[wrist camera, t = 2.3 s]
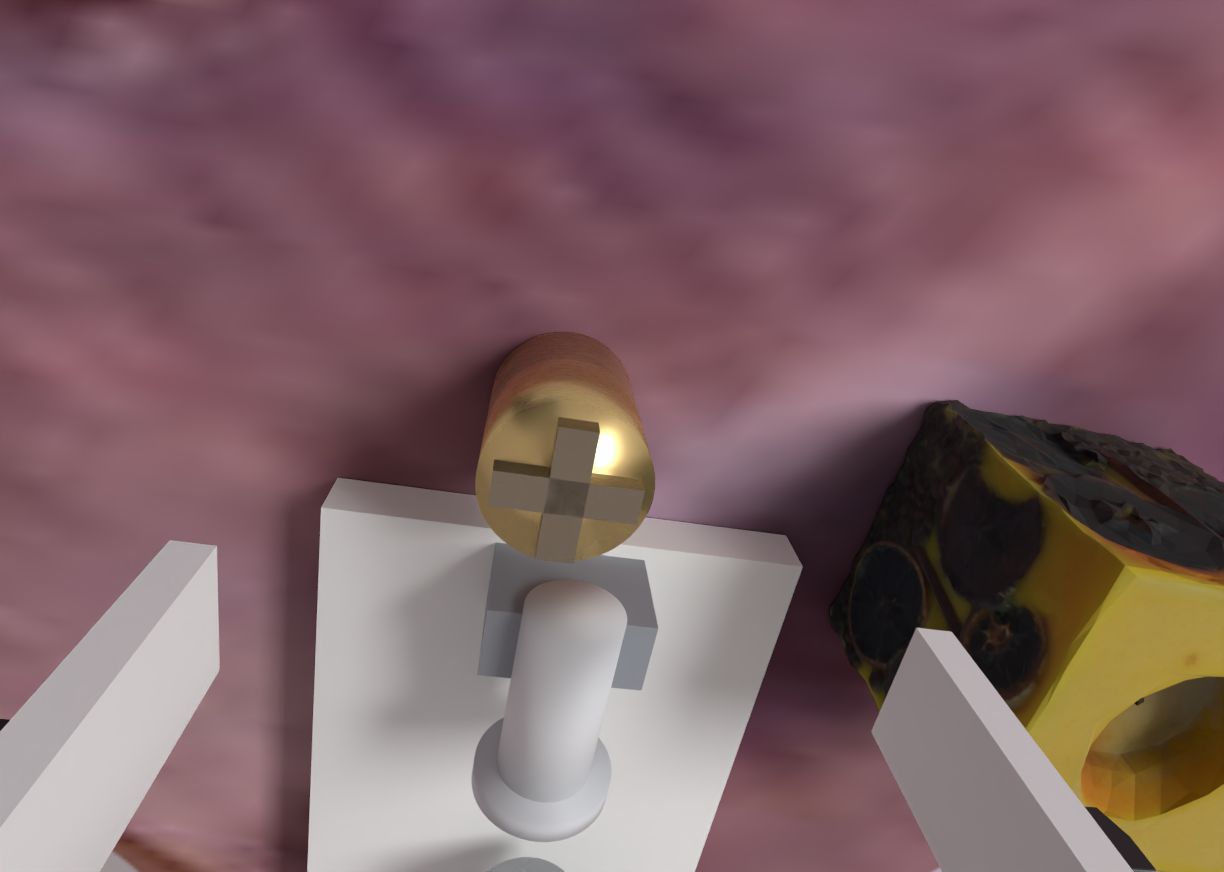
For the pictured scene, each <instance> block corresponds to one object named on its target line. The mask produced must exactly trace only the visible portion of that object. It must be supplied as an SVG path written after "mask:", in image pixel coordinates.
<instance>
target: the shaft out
mask: <svg viewBox="0 0 1224 872" xmlns="http://www.w3.org/2000/svg"><path fill="white" fill-rule="evenodd" d="M486 872H564V871H563V870H562V869H561V868H559V867H558V866H557V865H555V864H553V863H551V862H549V861H546V860H544V859H539V858H533V857H520V858H514V859H510V860H507V861H504V862H502V863H499V864H497V865H496V866H494V867H492V868H491V869H489V870H488V871H486Z"/></svg>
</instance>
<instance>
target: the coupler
mask: <svg viewBox="0 0 1224 872" xmlns="http://www.w3.org/2000/svg"><path fill="white" fill-rule="evenodd" d="M475 489H476V497H477V501H478V505H479V508H480V510H481V513H482V515H483V517H484V519H485V520H486V522H487V524H488V525H489V526H490V528H491V529H492V530H493V531H494V533H495V534H496V535H497V536H498V537H499V538H500V539H502V540H503V541H504V542H505V543H507V544H508V545H509V546H511V547H512V548H514V549H516V550H518V551H519V552H522V553H524V554H526V555H529V556H531V557H535V559H536V560H544V561H553V562H561V563H570V564H574V561H580V560H586V559H589V558H593V557H597V556H599V555H602V554H604V553H607V552H608V551H610V550H612V549H614V548H616V547H617V546H619V545H620V544H622V543H623V542H624V541H626V540H627V539H628V538H629V537H630V536H631V535H632V534H633V533H634V532H635V531H636V530H637V529H638V528H639V526H640V525H641V523H642V522H643V520H644V519H645V517H646V515H647V513H648V511H649V509H650V507H651V504H652V500H653V496H654V491H655V473H654V467H653V463H652V460H651V456H650V452H649V449H648V445H647V441H646V438H645V434H644V431H643V427H642V423H641V420H640V416H639V413H638V409H637V405H636V402H635V398H634V395H633V391H632V387H631V384H630V380H629V377H628V374H627V372H626V370H625V368H624V366H623V364H622V363H621V361H620V360H619V359H618V357H617V356H616V355H615V354H614V353H613V352H612V351H611V350H610V349H609V348H608V347H606V346H605V345H603V344H602V343H601V342H599V341H597V340H595V339H593V338H591V337H588V336H585V335H582V334H578V333H572V332H553V333H546V334H543V335H539V336H536V337H534V338H531V339H529V340H527V341H526V342H524V343H522V344H520V345H519V346H518V347H517V348H515V349H514V350H513V351H512V352H511V353H510V354H509V355H508V356H507V357H506V359H505V360H504V361H503V363H502V364H501V366H500V368H499V370H498V372H497V374H496V377H495V380H494V384H493V389H492V394H491V399H490V404H489V410H488V415H487V420H486V425H485V430H484V435H483V440H482V445H481V451H480V456H479V461H478V466H477V471H476V480H475Z"/></svg>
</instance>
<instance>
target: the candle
mask: <svg viewBox="0 0 1224 872" xmlns="http://www.w3.org/2000/svg"><path fill="white" fill-rule="evenodd" d="M830 621H831V626H832V628H833V629H834V630H835V632H836V633H837V634H838V635H839V637H840V639H841V641H842V643H843V645H844V646H845V653H846V655H847V657H848V659H849V662H850V664H851V665H852V666H853V667H854V668H855V669H856V670H857V671H858V672H859V673H860V675H861V676H862V677H863V678H864V679H865V680H866V682H867V684H868V687H869V689H870V691H871V693H872V695H873V697H874V699H875V702H876V704H877V707H878V710H879V712H880V710H881V708H882V706H883V703H884V701H885V699H886V696H887V694H888V692H889V690H890V687H891V685H892V683H893V680H894V678H895V676H896V673H897V671H898V669H899V666H900V664H901V662H902V660H903V657H904V655H905V653H906V650H907V648H908V646H909V643H910V641H911V639H912V637H913V634H914V632H915V630H916V628H924V629H933V630H941V631H950V632H952V633H953V634H954V635H955V637H956V638H957V639H958V641H959V642H960V643H961V645H962V646H963V647H964V649H965V650H966V651H967V652H968V654H969V655H970V656H971V658H972V659H973V660H974V662H975V663H976V664H977V666H978V667H979V668H980V670H981V671H982V672H983V674H984V675H985V676H986V678H987V679H988V680H989V682H990V683H991V684H992V685H993V687H994V688H995V689H996V691H997V692H998V693H999V695H1000V696H1001V697H1002V699H1003V700H1004V701H1005V703H1006V704H1007V705H1008V707H1009V708H1010V709H1011V711H1012V712H1013V713H1014V714H1015V716H1016V717H1017V718H1018V720H1019V721H1020V722H1021V724H1022V725H1023V726H1024V728H1025V729H1026V730H1027V732H1028V733H1029V734H1030V736H1031V737H1032V738H1033V740H1034V741H1035V742H1036V744H1037V745H1038V746H1039V747H1040V749H1041V750H1042V751H1043V753H1044V754H1045V755H1046V757H1047V758H1048V759H1049V761H1050V762H1051V763H1052V765H1053V766H1054V767H1055V769H1056V770H1057V771H1058V773H1059V774H1060V775H1061V776H1062V778H1063V779H1064V780H1065V782H1066V783H1067V784H1068V786H1069V787H1070V788H1071V790H1072V791H1073V792H1074V794H1075V795H1076V796H1077V798H1078V799H1079V800H1080V802H1081V803H1082V804H1083V806H1085V807H1097V808H1098V809H1099V810H1100V811H1101V812H1102V813H1103V814H1105V815H1106V816H1107V817H1108V818H1109V819H1110V820H1112V821H1113V822H1114V823H1115V824H1116V825H1117V826H1118V827H1120V828H1121V829H1122V830H1123V831H1124V832H1125V833H1126V834H1128V835H1129V836H1130V837H1131V839H1132V840H1133V841H1134V842H1135V844H1136V845H1137V846H1138V847H1139V849H1140V850H1141V851H1142V852H1143V854H1144V855H1145V856H1146V858H1147V859H1148V860H1149V861H1150V863H1151V864H1152V865H1153V866H1154V868H1155V869H1156V871H1160V872H1224V482H1220V481H1218V480H1217V479H1216V478H1214V477H1212V476H1210V475H1208V474H1206V473H1205V472H1203V469H1202V468H1200V467H1198V466H1196V465H1194V464H1192V463H1191V462H1189V461H1188V460H1187V459H1186V458H1184V457H1183V456H1180V455H1177V454H1176V453H1175V452H1174V451H1173V450H1172V449H1164V450H1154V449H1152V448H1151V447H1149V446H1146V445H1145V444H1143V443H1130V442H1128V441H1126V440H1124V439H1122V438H1120V437H1118V436H1116V435H1107V434H1097V433H1094V432H1091V431H1087V430H1084V429H1081V428H1078V427H1074V426H1066V425H1052V424H1048V423H1047V421H1046V420H1032V419H1030V418H1027V417H1024V416H1017V417H1013V416H1008V415H1003V414H998V413H991V412H982V411H978V410H973V409H970V408H968V407H967V406H965V405H964V404H962V403H961V402H959V401H958V400H954V401H942V402H935V403H934V404H933V405H932V406H931V407H930V408H929V409H928V410H927V411H926V412H925V413H924V425H923V427H922V428H921V430H920V431H919V433H918V435H917V437H916V438H915V440H914V441H913V443H912V444H911V445H910V447H909V448H908V450H907V454H906V458H905V462H904V464H903V466H902V467H901V469H900V472H899V474H898V476H897V478H896V481H895V484H893V485H892V486H891V487H889V488H888V489H887V491H886V494H885V497H884V499H883V502H882V504H881V507H880V509H879V512H878V514H877V516H876V519H875V521H874V524H873V526H872V528H871V530H870V532H869V534H868V537H867V539H866V541H865V543H864V546H863V548H862V550H861V552H860V553H859V554H858V555H857V556H856V558H855V559H854V560H853V567H852V573H851V575H850V576H849V578H848V579H847V581H846V582H845V584H844V586H843V588H842V590H841V592H840V594H839V596H838V598H837V599H836V601H835V602H834V603H833V605H832V606H831V608H830Z"/></svg>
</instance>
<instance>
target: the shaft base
mask: <svg viewBox="0 0 1224 872" xmlns="http://www.w3.org/2000/svg"><path fill="white" fill-rule="evenodd" d="M802 568H803V566H802V564H801V562H800V561H799V559H798V557H797V555H796V553H795V551H794V549H793V547H792V546H791V544H790V542H789V540H788V538H787V536H786V535H779V534H771V533H764V532H756V531H748V530H740V529H733V528H725V527H717V526H709V525H702V524H694V523H686V522H678V521H671V520H663V519H655V518H647V517H645V519H644V520H643V522H642V523H641V525H640V526H639V528H638V529H637V530H636V531H635V532H634V533H633V534H632V535H631V536H630V537H629V538H628V539H627V540H626V541H624V542H623V543H622V544H620V545H619V546H617V547H616V548H614V549H612V550H610V551H608V552H607V553H604V554H602V555H599V556H597V557H593V558H589V559H586V560H580V561H574V564H570V563H561V562H553V561H544V560H536V559H535V557H531V556H529V555H526V554H524V553H522V552H519V551H518V550H516V549H514V548H512V547H511V546H509V545H508V544H507V543H505V542H504V541H503V540H502V539H500V538H499V537H498V536H497V535H496V534H495V533H494V531H493V530H492V529H491V528H490V526H489V525H488V524H487V522H486V520H485V519H484V517H483V515H482V513H481V510H480V508H479V505H478V501H477V497H476V495H469V494H461V493H453V492H446V491H438V490H430V489H422V488H415V487H407V486H399V485H391V484H384V483H376V482H368V481H360V480H353V479H345V478H337V480H336V482H335V483H334V485H333V487H332V489H331V491H330V492H329V494H328V496H327V498H326V500H325V501H324V503H323V505H322V507H321V522H320V549H319V575H318V602H317V628H316V654H315V681H314V707H313V734H312V760H311V787H310V813H309V840H308V866H307V872H486V871H488V870H489V869H491V868H492V867H494V866H496V865H497V864H499V863H502V862H504V861H507V860H510V859H514V858H520V857H533V858H539V859H544V860H546V861H549V862H551V863H553V864H555V865H557V866H558V867H559V868H561V869H562V870H563V871H564V872H695V869H696V866H697V864H698V861H699V858H700V855H701V852H702V850H703V847H704V844H705V841H706V838H707V835H708V833H709V830H710V827H711V824H712V821H713V819H714V816H715V813H716V810H717V807H718V804H719V802H720V799H721V796H722V793H723V790H724V788H725V785H726V782H727V779H728V776H729V773H730V771H731V768H732V765H733V762H734V759H735V757H736V754H737V751H738V748H739V745H740V742H741V740H742V737H743V734H744V731H745V728H746V726H747V723H748V720H749V717H750V714H751V711H752V709H753V706H754V703H755V700H756V697H757V695H758V692H759V689H760V686H761V683H762V680H763V678H764V675H765V672H766V669H767V666H768V664H769V661H770V658H771V655H772V652H773V649H774V647H775V644H776V641H777V638H778V635H779V633H780V630H781V627H782V624H783V621H784V618H785V616H786V613H787V610H788V607H789V604H790V602H791V599H792V596H793V593H794V590H795V587H796V585H797V582H798V579H799V576H800V573H801V571H802Z"/></svg>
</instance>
